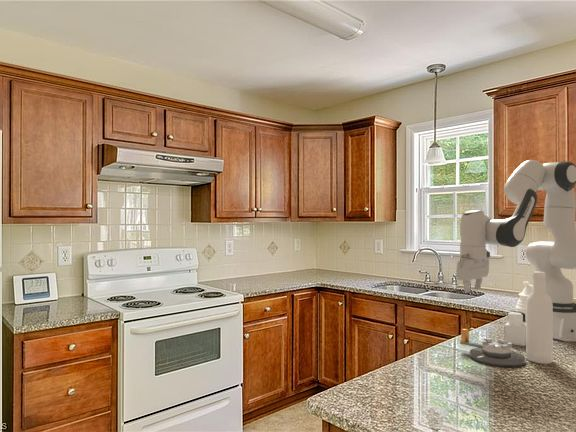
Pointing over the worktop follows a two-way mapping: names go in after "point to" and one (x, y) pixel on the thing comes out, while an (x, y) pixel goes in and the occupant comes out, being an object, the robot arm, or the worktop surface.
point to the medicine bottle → (515, 328)
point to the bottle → (539, 323)
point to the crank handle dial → (488, 345)
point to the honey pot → (524, 298)
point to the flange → (497, 359)
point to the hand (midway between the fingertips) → (472, 290)
